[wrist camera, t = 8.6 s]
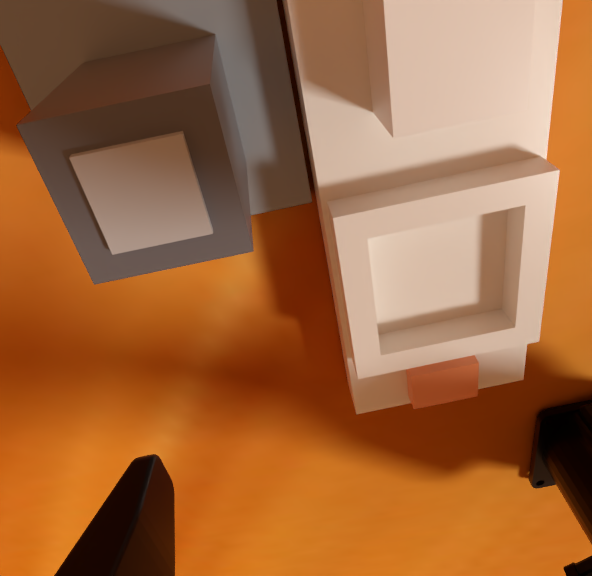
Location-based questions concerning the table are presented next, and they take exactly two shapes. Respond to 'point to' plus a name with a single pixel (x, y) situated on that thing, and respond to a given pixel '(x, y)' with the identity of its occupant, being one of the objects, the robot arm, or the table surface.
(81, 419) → the table surface
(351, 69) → the power strip
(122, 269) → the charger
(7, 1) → the coaster
